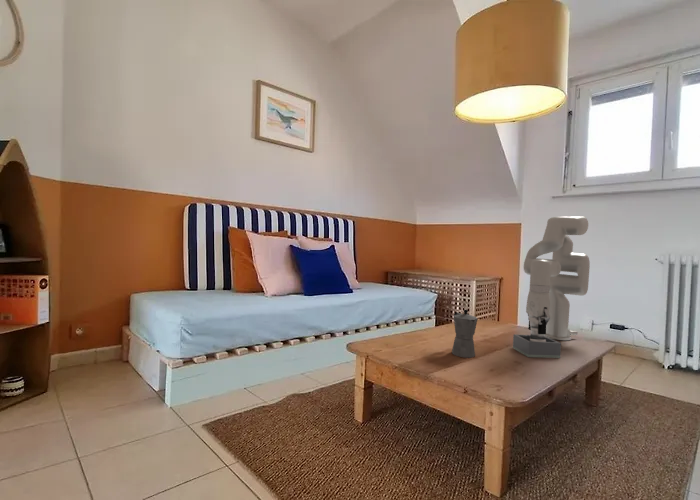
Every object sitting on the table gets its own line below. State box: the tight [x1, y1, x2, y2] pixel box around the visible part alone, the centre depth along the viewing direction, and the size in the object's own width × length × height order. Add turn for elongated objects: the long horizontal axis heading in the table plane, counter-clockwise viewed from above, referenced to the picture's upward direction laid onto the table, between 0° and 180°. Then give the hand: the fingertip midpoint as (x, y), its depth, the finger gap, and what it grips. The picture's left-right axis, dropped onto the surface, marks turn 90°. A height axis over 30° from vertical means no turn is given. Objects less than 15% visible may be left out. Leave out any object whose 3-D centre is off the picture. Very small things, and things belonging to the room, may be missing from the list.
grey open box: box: [512, 333, 562, 359], centre depth 156 cm, size 13×12×6 cm
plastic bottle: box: [528, 311, 546, 342], centre depth 156 cm, size 6×7×20 cm
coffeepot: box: [451, 308, 478, 359], centre depth 150 cm, size 15×9×18 cm, turn 12°
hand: (536, 331), depth 156 cm, fingers open, 6 cm apart
